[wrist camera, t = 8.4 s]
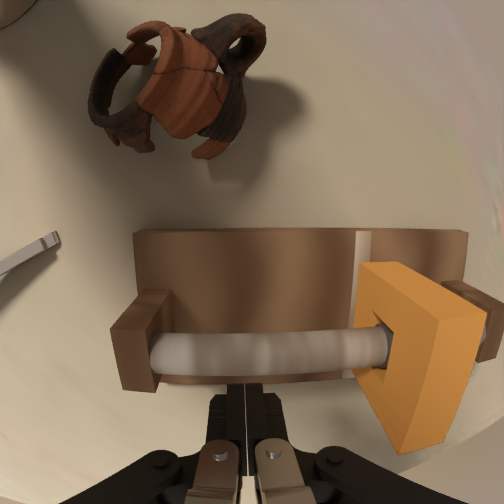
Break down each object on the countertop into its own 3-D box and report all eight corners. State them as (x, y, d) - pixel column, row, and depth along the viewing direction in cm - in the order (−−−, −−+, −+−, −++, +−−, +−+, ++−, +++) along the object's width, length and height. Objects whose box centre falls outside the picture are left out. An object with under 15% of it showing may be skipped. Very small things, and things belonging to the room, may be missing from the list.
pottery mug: (187, 197, 23) (96, 176, 15) (144, 118, 25) (69, 86, 18) (318, 85, 18) (266, 6, 11) (246, 22, 21) (187, -39, 13)
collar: (347, 364, 23) (398, 455, 13) (359, 262, 21) (439, 320, 11) (383, 360, 23) (442, 442, 13) (397, 261, 21) (487, 312, 11)
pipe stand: (155, 372, 25) (128, 437, 17) (139, 230, 22) (89, 255, 14) (437, 354, 26) (484, 401, 18) (458, 230, 23) (525, 249, 15)
